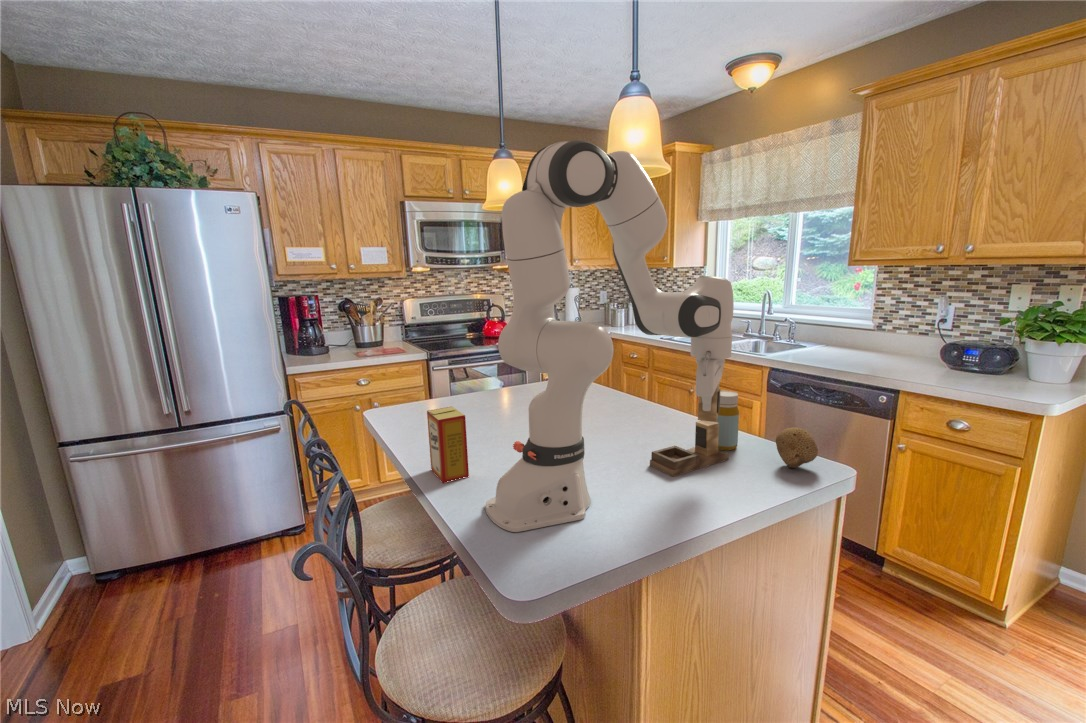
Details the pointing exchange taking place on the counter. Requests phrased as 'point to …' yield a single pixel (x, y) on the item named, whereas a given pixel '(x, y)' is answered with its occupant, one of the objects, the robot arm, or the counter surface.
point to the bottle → (728, 421)
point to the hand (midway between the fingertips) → (708, 407)
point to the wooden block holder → (691, 452)
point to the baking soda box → (448, 443)
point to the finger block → (715, 407)
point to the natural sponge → (796, 447)
